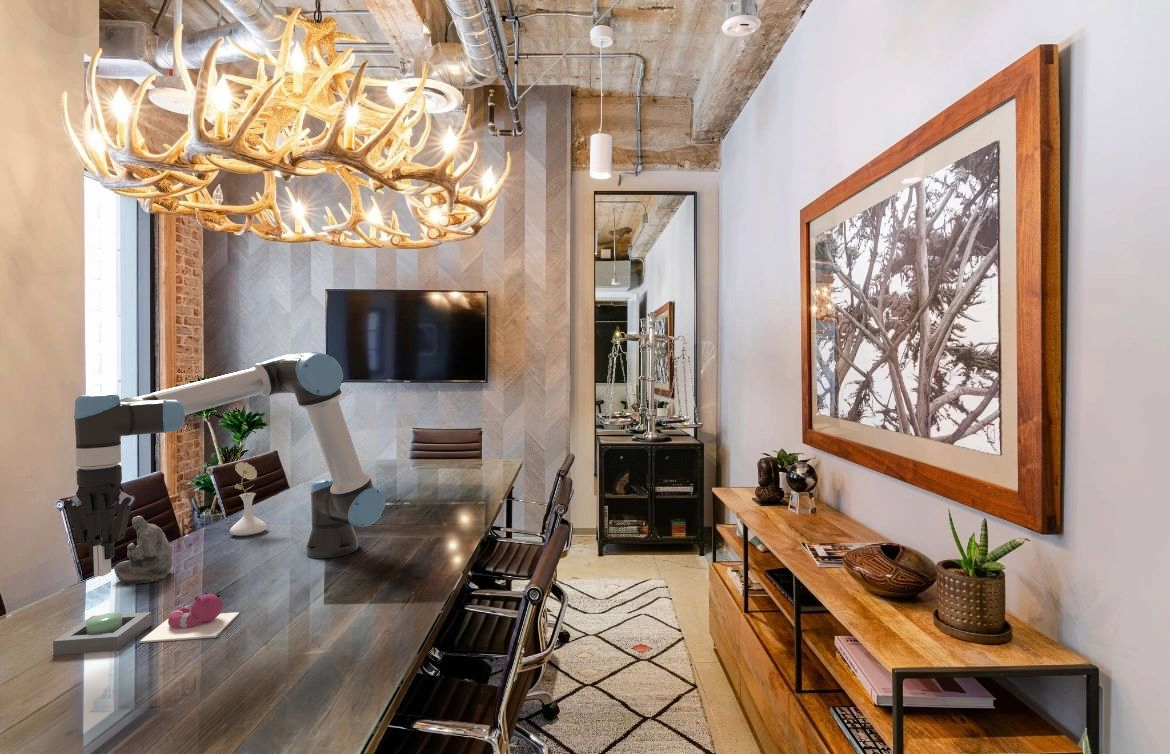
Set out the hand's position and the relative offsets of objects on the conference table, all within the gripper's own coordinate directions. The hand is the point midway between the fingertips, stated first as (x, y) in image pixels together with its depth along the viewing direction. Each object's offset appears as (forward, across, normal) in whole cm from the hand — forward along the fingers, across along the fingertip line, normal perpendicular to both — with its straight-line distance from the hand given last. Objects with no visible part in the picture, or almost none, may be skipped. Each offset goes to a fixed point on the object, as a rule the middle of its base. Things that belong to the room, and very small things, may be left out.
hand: (102, 574), depth 127 cm
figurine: (+15, +13, -38) cm, 43 cm away
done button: (+13, 0, 0) cm, 13 cm away
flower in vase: (+15, +2, -79) cm, 81 cm away
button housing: (+14, 0, 0) cm, 14 cm away
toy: (+14, -16, -6) cm, 22 cm away
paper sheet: (+14, -16, -3) cm, 22 cm away
